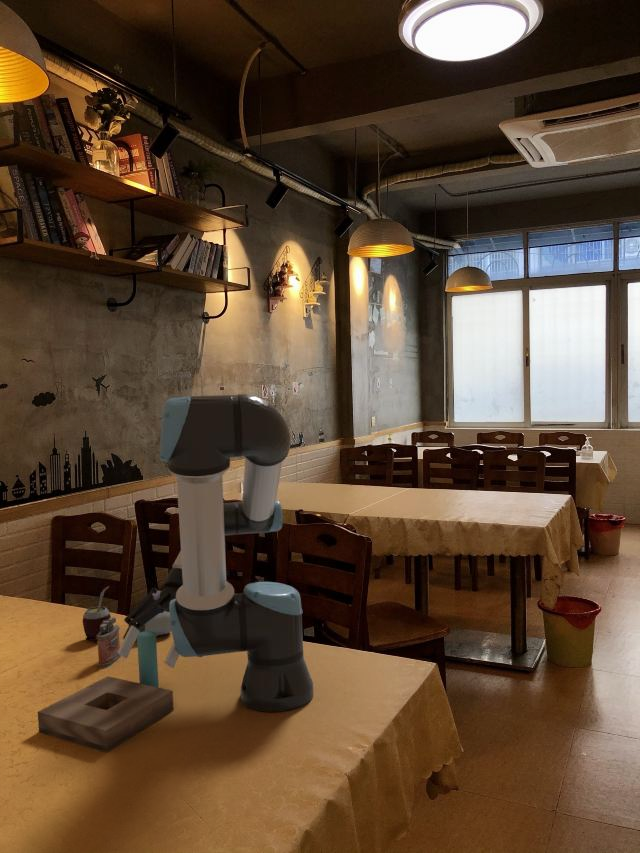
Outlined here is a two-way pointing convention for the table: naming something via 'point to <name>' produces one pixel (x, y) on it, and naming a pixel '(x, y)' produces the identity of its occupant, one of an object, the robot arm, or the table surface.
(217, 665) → the table surface
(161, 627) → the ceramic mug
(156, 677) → the pin
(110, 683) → the hole board
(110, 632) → the lighter
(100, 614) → the mate gourd
